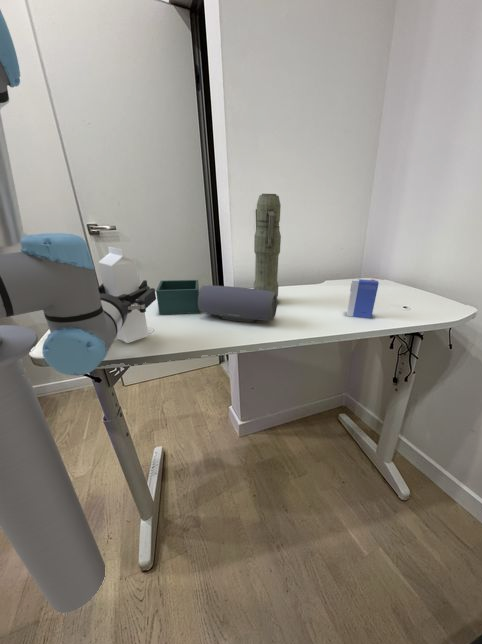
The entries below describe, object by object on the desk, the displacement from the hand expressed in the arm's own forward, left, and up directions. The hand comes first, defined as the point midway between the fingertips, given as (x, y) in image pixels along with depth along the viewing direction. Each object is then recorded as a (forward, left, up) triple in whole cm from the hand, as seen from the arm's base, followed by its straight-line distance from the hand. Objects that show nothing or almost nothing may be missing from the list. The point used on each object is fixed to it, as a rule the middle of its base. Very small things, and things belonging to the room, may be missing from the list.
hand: (127, 286), depth 74 cm
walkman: (+69, +4, -13) cm, 70 cm away
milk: (0, -5, -12) cm, 13 cm away
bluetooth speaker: (+29, +6, -13) cm, 32 cm away
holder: (+11, +19, -13) cm, 26 cm away
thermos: (+41, +22, -13) cm, 48 cm away
